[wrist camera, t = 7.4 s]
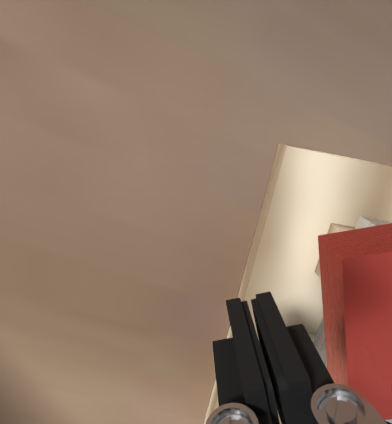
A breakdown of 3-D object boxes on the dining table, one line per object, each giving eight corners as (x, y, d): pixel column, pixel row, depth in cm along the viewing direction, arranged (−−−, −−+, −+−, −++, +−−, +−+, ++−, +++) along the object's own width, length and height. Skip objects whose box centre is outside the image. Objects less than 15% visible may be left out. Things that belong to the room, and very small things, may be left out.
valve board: (181, 506, 26) (180, 554, 23) (278, 143, 17) (296, 148, 14) (320, 523, 27) (335, 572, 24) (480, 183, 18) (534, 197, 15)
